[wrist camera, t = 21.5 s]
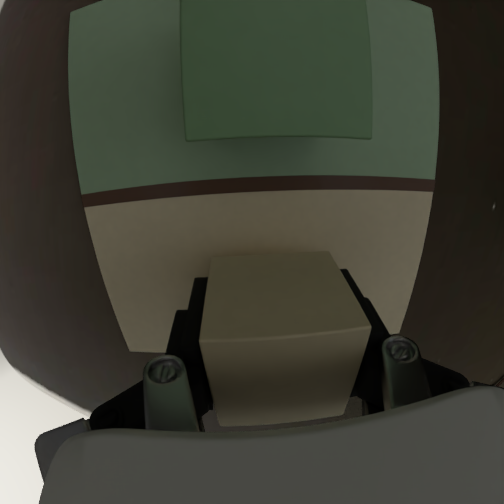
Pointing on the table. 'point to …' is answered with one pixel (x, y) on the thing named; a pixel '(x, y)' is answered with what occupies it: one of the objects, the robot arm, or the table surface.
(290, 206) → the board
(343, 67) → the sage block
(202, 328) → the cream block
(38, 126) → the table surface
